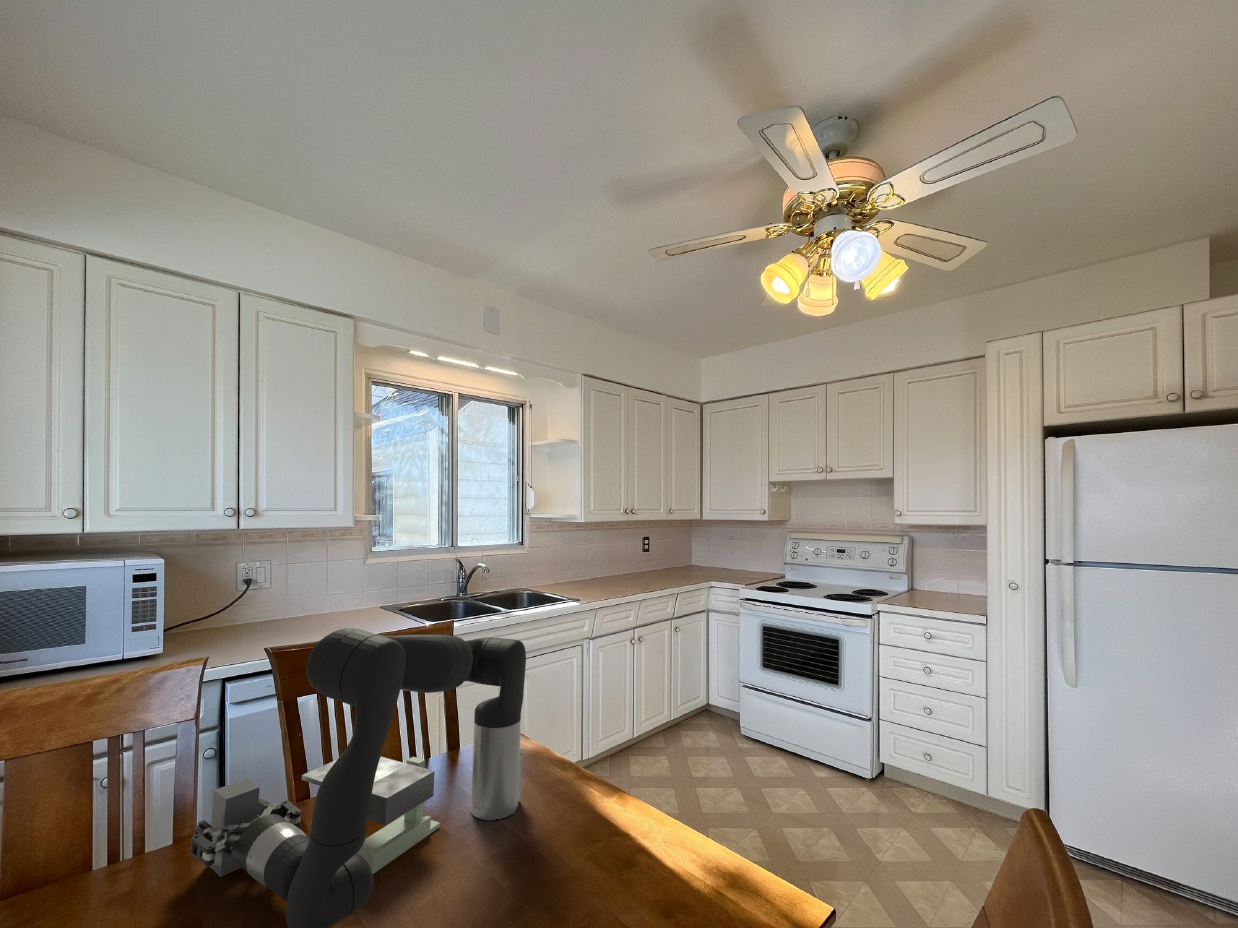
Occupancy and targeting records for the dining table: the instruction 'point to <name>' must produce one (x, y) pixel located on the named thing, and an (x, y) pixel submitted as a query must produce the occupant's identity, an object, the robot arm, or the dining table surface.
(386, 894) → the dining table surface
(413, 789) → the trapdoor
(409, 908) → the dining table surface
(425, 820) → the frame
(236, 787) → the basalt block
